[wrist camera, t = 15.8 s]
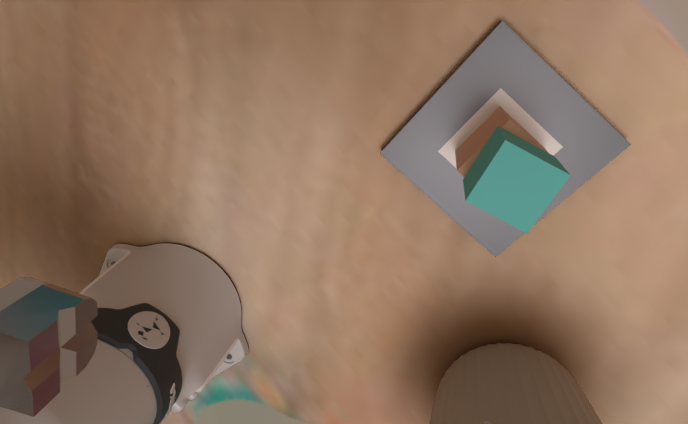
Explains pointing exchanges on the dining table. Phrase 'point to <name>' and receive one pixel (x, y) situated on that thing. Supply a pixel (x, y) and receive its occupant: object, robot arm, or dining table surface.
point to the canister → (510, 389)
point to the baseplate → (523, 106)
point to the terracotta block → (481, 135)
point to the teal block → (513, 180)
